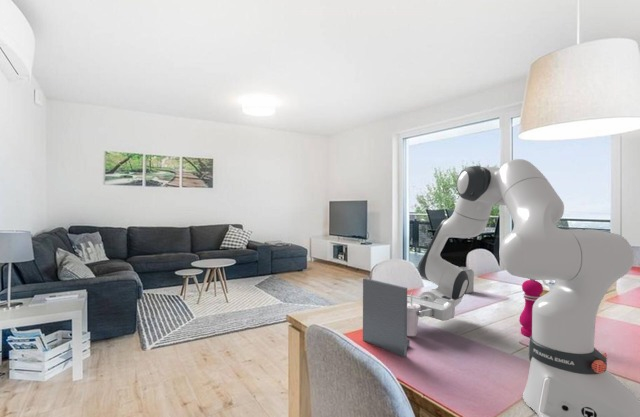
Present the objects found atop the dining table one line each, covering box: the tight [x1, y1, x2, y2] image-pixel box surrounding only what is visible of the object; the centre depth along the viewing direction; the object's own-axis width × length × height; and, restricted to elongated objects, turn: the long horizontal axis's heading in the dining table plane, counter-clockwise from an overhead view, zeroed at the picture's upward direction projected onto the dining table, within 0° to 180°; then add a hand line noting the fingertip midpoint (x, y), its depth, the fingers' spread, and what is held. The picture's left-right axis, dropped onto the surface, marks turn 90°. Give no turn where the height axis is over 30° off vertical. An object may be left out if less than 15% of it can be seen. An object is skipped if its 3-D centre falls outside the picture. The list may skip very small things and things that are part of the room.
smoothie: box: [407, 292, 420, 337], centre depth 112 cm, size 6×6×14 cm
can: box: [458, 266, 475, 294], centre depth 166 cm, size 8×8×12 cm
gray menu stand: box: [362, 277, 411, 358], centre depth 105 cm, size 16×8×20 cm, turn 41°
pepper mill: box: [518, 279, 544, 338], centre depth 113 cm, size 7×7×20 cm
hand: (408, 311), depth 111 cm, fingers closed on smoothie, 6 cm apart
